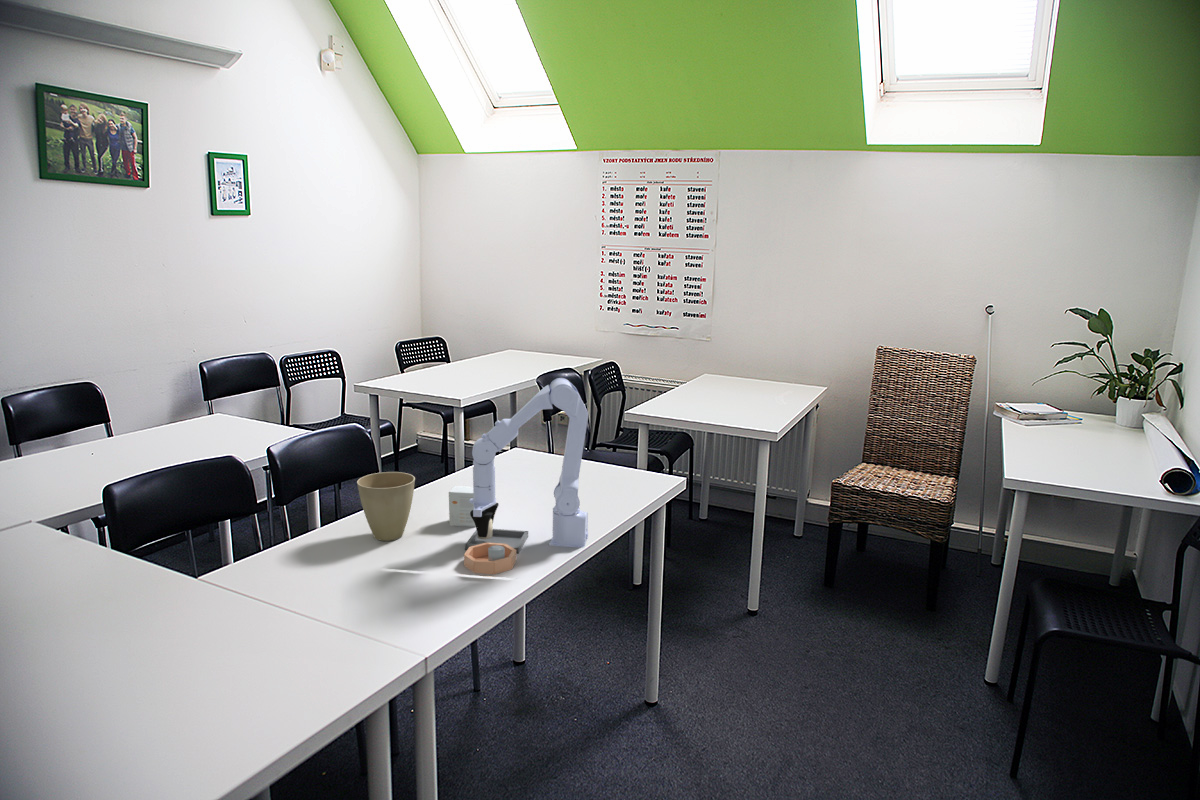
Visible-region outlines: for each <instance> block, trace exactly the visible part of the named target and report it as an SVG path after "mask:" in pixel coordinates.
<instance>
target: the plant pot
mask: <svg viewBox="0 0 1200 800" xmlns="http://www.w3.org/2000/svg"><path fill="white" fill-rule="evenodd" d="M415 481H416V477H415V476H414V475H413V474H411V473H406V472H401V471H400V472H399V471H386V472H385V471H384V472H377V473H376V472H374V473H371V474H367V475H364V476H362V477H360V478H359V479H358V480H357V481H356V485H357V489H358V494H359V498H360V503H361V506H362V510H363V513H364V516H365V519H366V522H367V524H368V526H369V528H370V531H371V533H372V535H373V538H374V539H375V540H377V541H380V542H381V541H382V542H390V541H391V542H392V541H395V540H399V539H400V538H402V537H403V535H404V532H405V531H406V530H405V529H406V527H407V523H408V520H409V517H410V512H411V507H412V503H413V498H414V493H415V491H414V490H415Z"/></svg>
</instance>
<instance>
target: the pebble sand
mask: <svg viewBox="0 0 1200 800" xmlns="http://www.w3.org/2000/svg"><path fill="white" fill-rule="evenodd" d="M493 526H494V525H493V524H492V519H491V518H490V521H489V527H488V534H487V537H479V536H478V533H477V537H478V538H479V539H490V538H492V537H493V529H494V528H493Z"/></svg>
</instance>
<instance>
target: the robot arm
mask: <svg viewBox="0 0 1200 800" xmlns="http://www.w3.org/2000/svg"><path fill="white" fill-rule="evenodd" d="M553 405H554V406H555V407H556V408H558V409H559V410H561V411H563V412H564V413H565V414H566V415H567V417H568V418H569V419H568V427H567V433H566V439H565V445H564V446H565V447H564V454H563V458H562V459H563V460H562V467H561V472H560V476H559V479H558V483H557V484H556V486H555V488H554V489H553V497H554V500H555V505H554V506H553V507H552V536H551V539H550V542H549V543H548V545H549V546H555V547H568V548H569V547H570V548H571V547H572V548H582V549H583V548H585V547H586V544H587V540H588V538H589V513H588V511H583V510H581V509H580V505H581V504H580V503H581V502H580V499H579V478H580V471H581V465H582V457H583V454H584V453H583V452H584V446H585V439H586V434H587V428H588V420H589V411H588V409H587V408H586V405H585V404H584V401H583V400H582V397H581V395H580V393H579V391H578V389H577V387H576V386H575V385H574V384H573V383H572V382H571V381H570V380H568V379H567V378H564V377H558V378H555V379H553V380H552V381H551V382H550V384H547V385H545V386H544V387H543V388H542V389H540V390H539V391H538V392H537V393H536V394H535V395H534V396H533V397H531V399H530V400H528V402H526V404H524V405H523V406H522V407H521V408H520V409H519V410H518V411H517V412H516V413H515V414H514V415H513V416H511V418H503V419H501V420H499V419H497V420H496V421H495V423H494V426H493V427H492V428H491V429H490V430H489V431H487V432H486V433H482V434H481V437H480V438H478V439H477V440H476V441H474V443H473V446H472V451H471V455H472V459H473V461H472V465H473V467H472V481H473V482H472V487H473V498H471V499H470V500H469V503H472V504H473V507H474V509H473V510H472V511H471V512H470V516H471V517H472V519H473V521H474V523H475V526H476V527H475V530H477V533H478V536H479V537H487V534H488V527H489V521H490V518H491V519H492V524H493V523H494V519H495V515H496V512H497V510H498V507H499V503H498V502H497V498H496V467H495V457H496V453H498V452H501V451H502V450H503V449H504V448H505V447H506V446H508V445H509V444H510V443H511V442H512V441H513V440H515V438H516V437H518V436H519V428H521V427H522V426H524V424H526V423H527V422H528V421H529V420H531V419H532V418H533V417H534V416H536V415H537V414H538V413H539V412H540V411H542V410H553V409H554V408H553Z"/></svg>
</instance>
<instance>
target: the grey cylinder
mask: <svg viewBox="0 0 1200 800" xmlns="http://www.w3.org/2000/svg"><path fill="white" fill-rule="evenodd" d="M503 558H505V548H504V547H503V546H499V545H495V546H491V547H489V548H488V561H495V560H499V559H503Z"/></svg>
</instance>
